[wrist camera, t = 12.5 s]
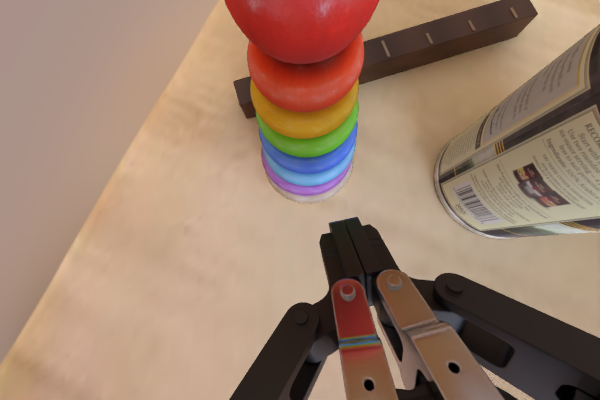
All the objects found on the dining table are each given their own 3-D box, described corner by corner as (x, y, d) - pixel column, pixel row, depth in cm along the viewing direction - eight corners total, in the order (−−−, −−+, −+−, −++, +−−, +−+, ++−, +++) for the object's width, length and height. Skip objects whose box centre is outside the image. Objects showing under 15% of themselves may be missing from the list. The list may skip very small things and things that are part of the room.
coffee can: (571, 159, 22) (998, 13, 8) (527, 262, 21) (953, 290, 7) (461, 108, 24) (670, -88, 10) (412, 201, 22) (578, 123, 8)
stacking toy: (365, 186, 23) (586, -78, 4) (282, 217, 23) (150, 80, 4) (332, 113, 24) (393, -311, 6) (255, 141, 24) (70, -203, 6)
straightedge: (504, 17, 25) (526, -9, 23) (516, 37, 25) (539, 12, 22) (240, 97, 25) (232, 80, 23) (246, 119, 25) (239, 104, 22)
